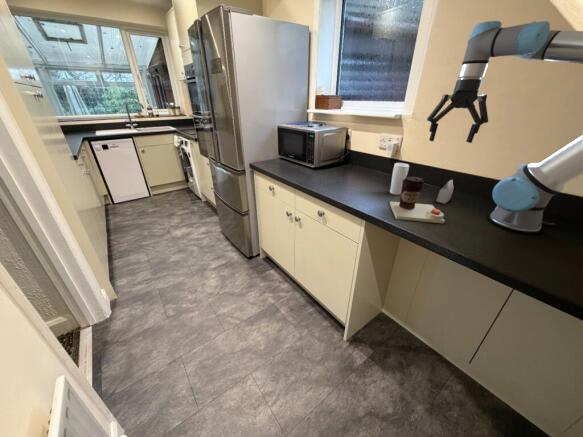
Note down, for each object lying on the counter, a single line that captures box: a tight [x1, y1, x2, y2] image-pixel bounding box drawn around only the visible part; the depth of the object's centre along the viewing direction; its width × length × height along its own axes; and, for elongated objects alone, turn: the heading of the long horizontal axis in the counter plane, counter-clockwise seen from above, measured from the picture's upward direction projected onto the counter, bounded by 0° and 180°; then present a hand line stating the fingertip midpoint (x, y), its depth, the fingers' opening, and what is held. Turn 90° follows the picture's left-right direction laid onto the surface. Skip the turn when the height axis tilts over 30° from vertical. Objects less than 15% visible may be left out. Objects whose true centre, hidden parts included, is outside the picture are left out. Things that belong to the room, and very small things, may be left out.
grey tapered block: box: [436, 179, 455, 204], centre depth 109 cm, size 4×7×10 cm, turn 131°
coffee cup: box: [399, 176, 425, 209], centre depth 99 cm, size 9×8×13 cm
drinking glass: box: [389, 162, 410, 196], centre depth 116 cm, size 7×7×15 cm
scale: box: [389, 201, 446, 224], centre depth 99 cm, size 18×15×3 cm
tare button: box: [431, 208, 441, 215], centre depth 93 cm, size 3×3×2 cm
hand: (449, 141), depth 92 cm, fingers open, 13 cm apart
